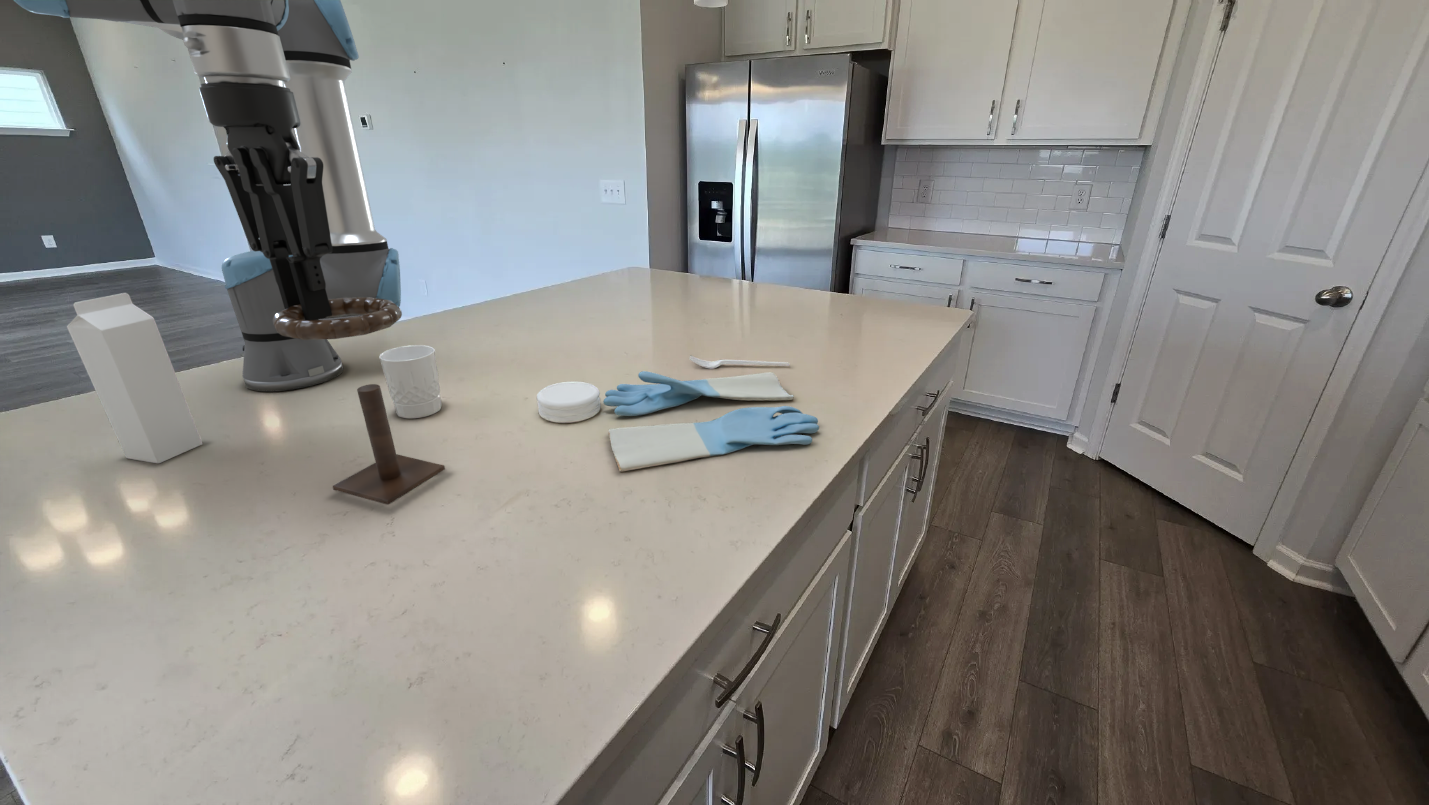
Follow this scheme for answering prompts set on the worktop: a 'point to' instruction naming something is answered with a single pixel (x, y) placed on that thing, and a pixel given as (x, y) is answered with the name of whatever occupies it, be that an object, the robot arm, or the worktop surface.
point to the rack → (384, 458)
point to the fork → (733, 362)
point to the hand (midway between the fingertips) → (309, 316)
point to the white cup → (412, 380)
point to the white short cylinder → (568, 402)
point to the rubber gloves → (703, 437)
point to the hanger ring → (375, 319)
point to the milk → (133, 378)
